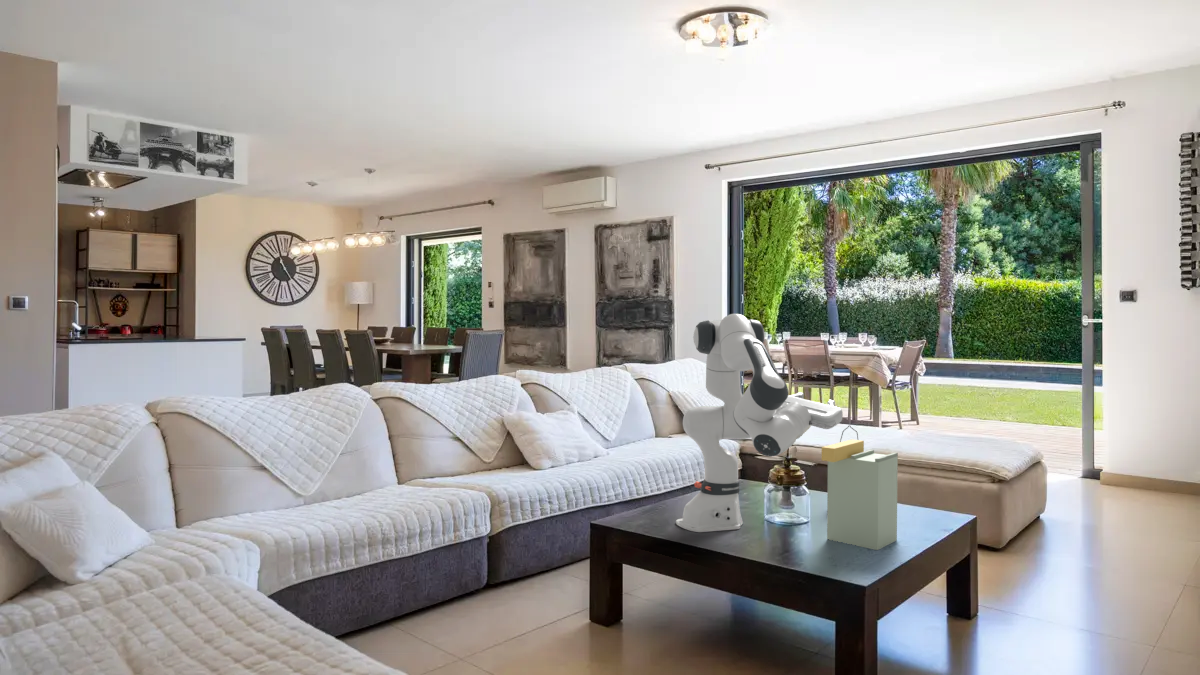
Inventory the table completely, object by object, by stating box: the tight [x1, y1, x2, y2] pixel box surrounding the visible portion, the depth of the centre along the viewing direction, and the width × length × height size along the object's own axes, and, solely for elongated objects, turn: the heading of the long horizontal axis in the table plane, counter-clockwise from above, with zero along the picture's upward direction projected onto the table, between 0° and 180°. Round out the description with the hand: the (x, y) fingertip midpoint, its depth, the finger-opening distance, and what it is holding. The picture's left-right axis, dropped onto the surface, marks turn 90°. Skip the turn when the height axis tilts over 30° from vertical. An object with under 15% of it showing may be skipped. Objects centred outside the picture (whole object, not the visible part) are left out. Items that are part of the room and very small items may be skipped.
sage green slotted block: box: [826, 449, 899, 551], centre depth 239 cm, size 14×16×27 cm
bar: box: [821, 439, 865, 462], centre depth 237 cm, size 20×4×4 cm, turn 137°
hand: (816, 398), depth 220 cm, fingers open, 8 cm apart
